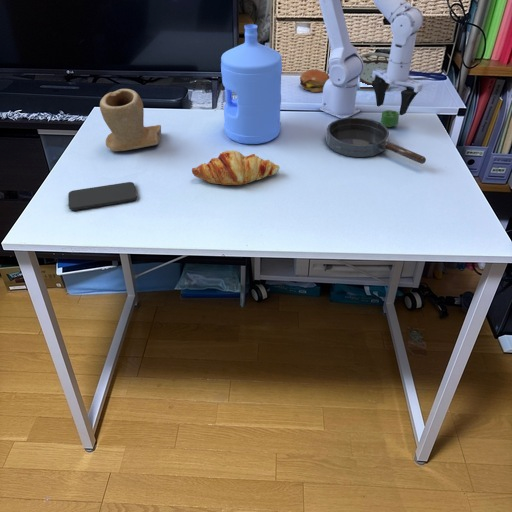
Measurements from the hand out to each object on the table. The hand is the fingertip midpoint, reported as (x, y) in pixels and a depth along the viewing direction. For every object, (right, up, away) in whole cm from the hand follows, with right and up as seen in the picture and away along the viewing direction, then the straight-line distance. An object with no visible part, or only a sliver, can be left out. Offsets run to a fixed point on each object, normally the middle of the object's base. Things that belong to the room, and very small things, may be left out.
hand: (390, 109), depth 137 cm
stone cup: (-70, -11, -4) cm, 71 cm away
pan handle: (-1, -16, -13) cm, 21 cm away
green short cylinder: (0, -4, +3) cm, 5 cm away
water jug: (-39, -6, +1) cm, 39 cm away
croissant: (-42, -22, -17) cm, 51 cm away
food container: (+1, +15, +24) cm, 28 cm away
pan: (-11, -10, -4) cm, 15 cm away
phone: (-73, -27, -23) cm, 81 cm away
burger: (-18, +14, +24) cm, 34 cm away
